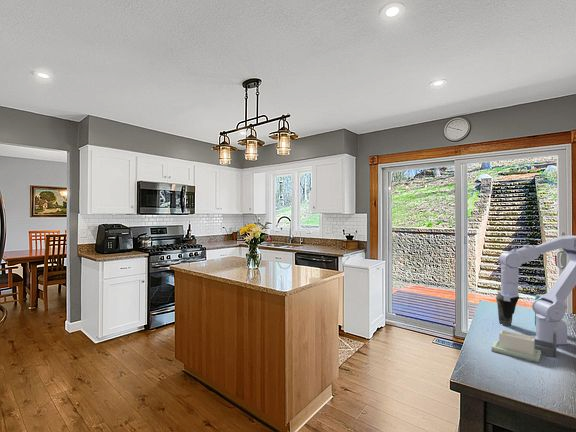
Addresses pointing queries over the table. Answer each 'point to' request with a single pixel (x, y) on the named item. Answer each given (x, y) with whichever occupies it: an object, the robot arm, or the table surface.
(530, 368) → the table surface
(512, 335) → the box
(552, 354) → the bay
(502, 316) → the beverage cup
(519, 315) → the table surface
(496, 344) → the tray
